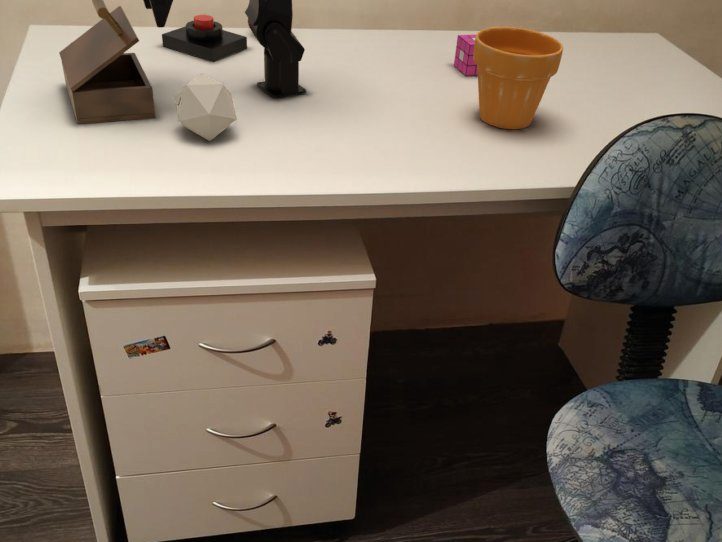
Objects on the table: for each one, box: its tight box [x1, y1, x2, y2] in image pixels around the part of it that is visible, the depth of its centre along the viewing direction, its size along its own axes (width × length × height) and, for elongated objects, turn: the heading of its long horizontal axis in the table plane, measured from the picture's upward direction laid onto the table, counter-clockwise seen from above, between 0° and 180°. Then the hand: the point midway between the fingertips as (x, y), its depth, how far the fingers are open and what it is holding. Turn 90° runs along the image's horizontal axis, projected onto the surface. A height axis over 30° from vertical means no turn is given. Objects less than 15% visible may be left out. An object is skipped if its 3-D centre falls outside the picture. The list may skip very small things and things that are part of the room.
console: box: [161, 20, 248, 63], centre depth 150 cm, size 12×10×4 cm
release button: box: [193, 14, 215, 29], centre depth 149 cm, size 4×4×2 cm
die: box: [174, 72, 238, 142], centre depth 121 cm, size 8×9×10 cm
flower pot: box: [473, 26, 564, 130], centre depth 133 cm, size 14×14×13 cm
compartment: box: [61, 52, 156, 125], centre depth 127 cm, size 12×16×5 cm
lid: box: [58, 0, 140, 92], centre depth 121 cm, size 12×16×5 cm
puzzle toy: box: [453, 34, 478, 77], centre depth 153 cm, size 6×6×6 cm
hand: (154, 17), depth 125 cm, fingers open, 9 cm apart
